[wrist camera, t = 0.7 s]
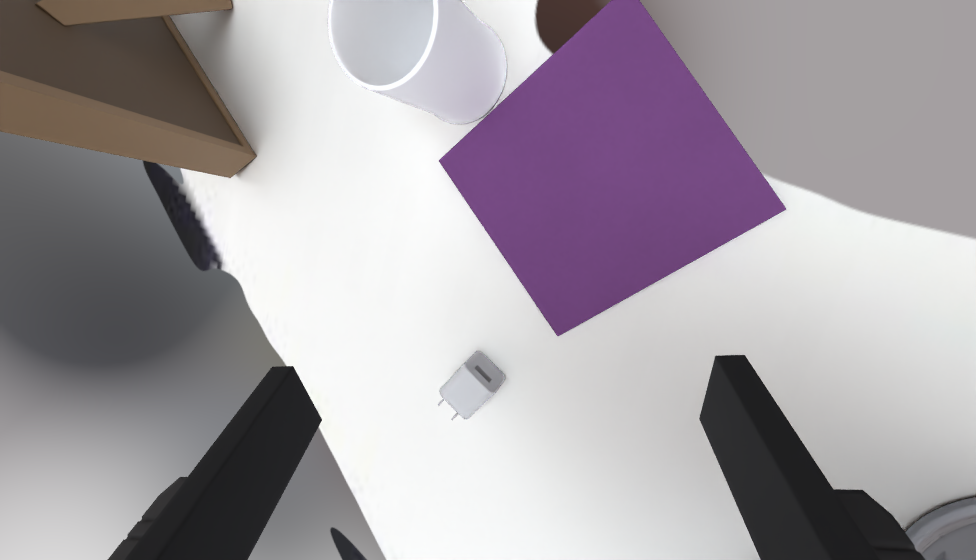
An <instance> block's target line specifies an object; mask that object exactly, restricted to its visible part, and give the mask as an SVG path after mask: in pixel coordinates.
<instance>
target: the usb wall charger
mask: <svg viewBox="0 0 976 560" xmlns="http://www.w3.org/2000/svg"><path fill="white" fill-rule="evenodd" d="M504 380H505V377H504V374H503V373H502V372H501V371H500V370H499V369H498V368H497V367H496V366H495V365H494V364H493V363H492V362H491V361H490V360H489V359H488V358H487V357H486V356H485V355H484V354H483V353H482V352H479V351H476V352H475V353H474V354H473V355H472V356H471V357H470V358H469V359H468V360H467V361H466V362H465V363H464V364H463V365H462V366H461V367H460V368H459V370H458V371H457V372H456V373H455V374H454V375H453V376H452V377H451V378H450V379H449V380H448V381H447V382H446V383H445V384H444V385H443V387H442V388H441V389H440V395H441V396H442V398H443V400H442V401H441V402H440V403H439V404H438V406H439V405H440V404H441V403H442V402H443V401H444V400H445V401H446V402H447V403H448V404H449V405H450V406H451V407H452V408H453V409H454V410H455V411H456V412H457V413H456V414H455V415H454V417H453V418H452V419H451V420H453V419H454V418H455V417H456V416H457V415H458V414H459V415H460V416H461V417H462V418H464V419H468V418H469V417H471V416H472V415H473V414H474V413H475V412H476V411H477V410H478V409H479V408H480V407H481V406H482V405H483V404H484V403H485V402H486V401H487V400H488V399H489V398H490V397H491V396H493V395H494V394H495V393H496V391H497V390H498V389H499V387H500V386H501V384H502V383H503V382H504Z"/></svg>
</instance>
